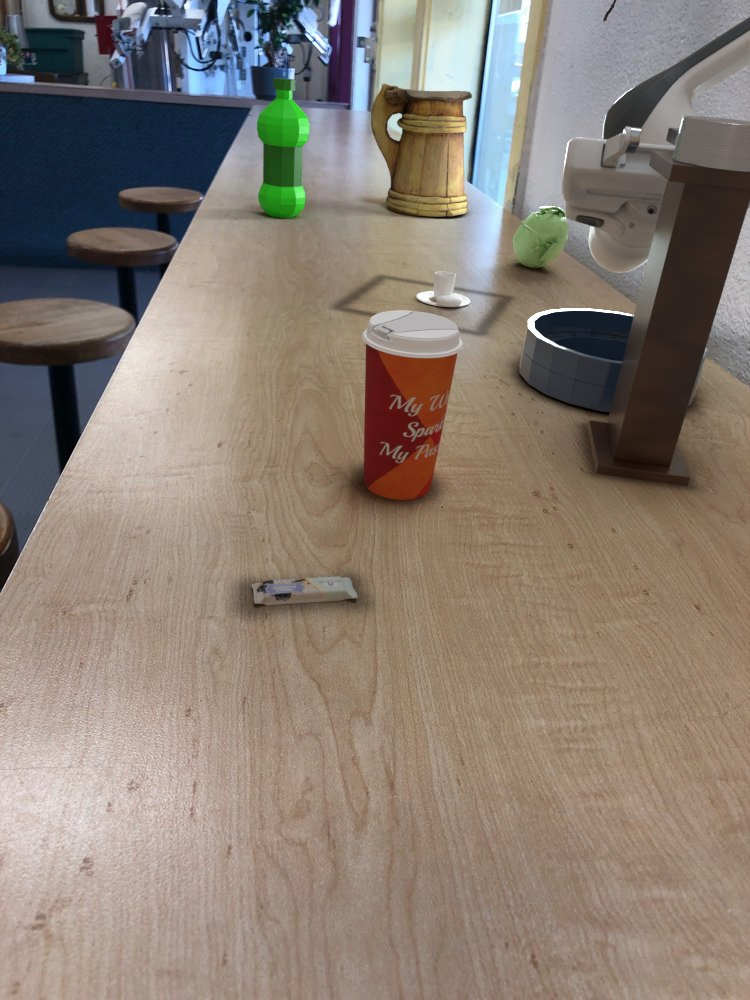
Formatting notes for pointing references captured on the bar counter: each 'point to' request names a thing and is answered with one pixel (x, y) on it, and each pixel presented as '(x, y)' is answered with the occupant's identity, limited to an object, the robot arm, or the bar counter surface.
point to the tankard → (423, 150)
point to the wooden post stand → (671, 321)
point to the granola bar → (303, 590)
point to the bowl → (578, 355)
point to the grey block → (712, 143)
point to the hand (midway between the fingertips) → (684, 139)
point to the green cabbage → (541, 237)
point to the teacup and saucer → (443, 292)
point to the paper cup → (406, 399)
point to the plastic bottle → (282, 152)
